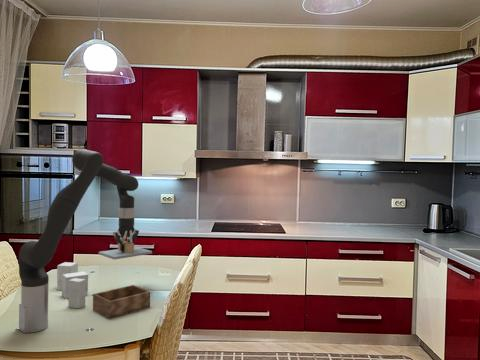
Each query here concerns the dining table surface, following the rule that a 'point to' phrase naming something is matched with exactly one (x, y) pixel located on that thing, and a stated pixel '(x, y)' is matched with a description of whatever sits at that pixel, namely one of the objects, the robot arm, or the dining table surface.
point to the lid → (125, 251)
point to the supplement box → (65, 272)
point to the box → (121, 301)
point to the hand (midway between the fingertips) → (125, 250)
